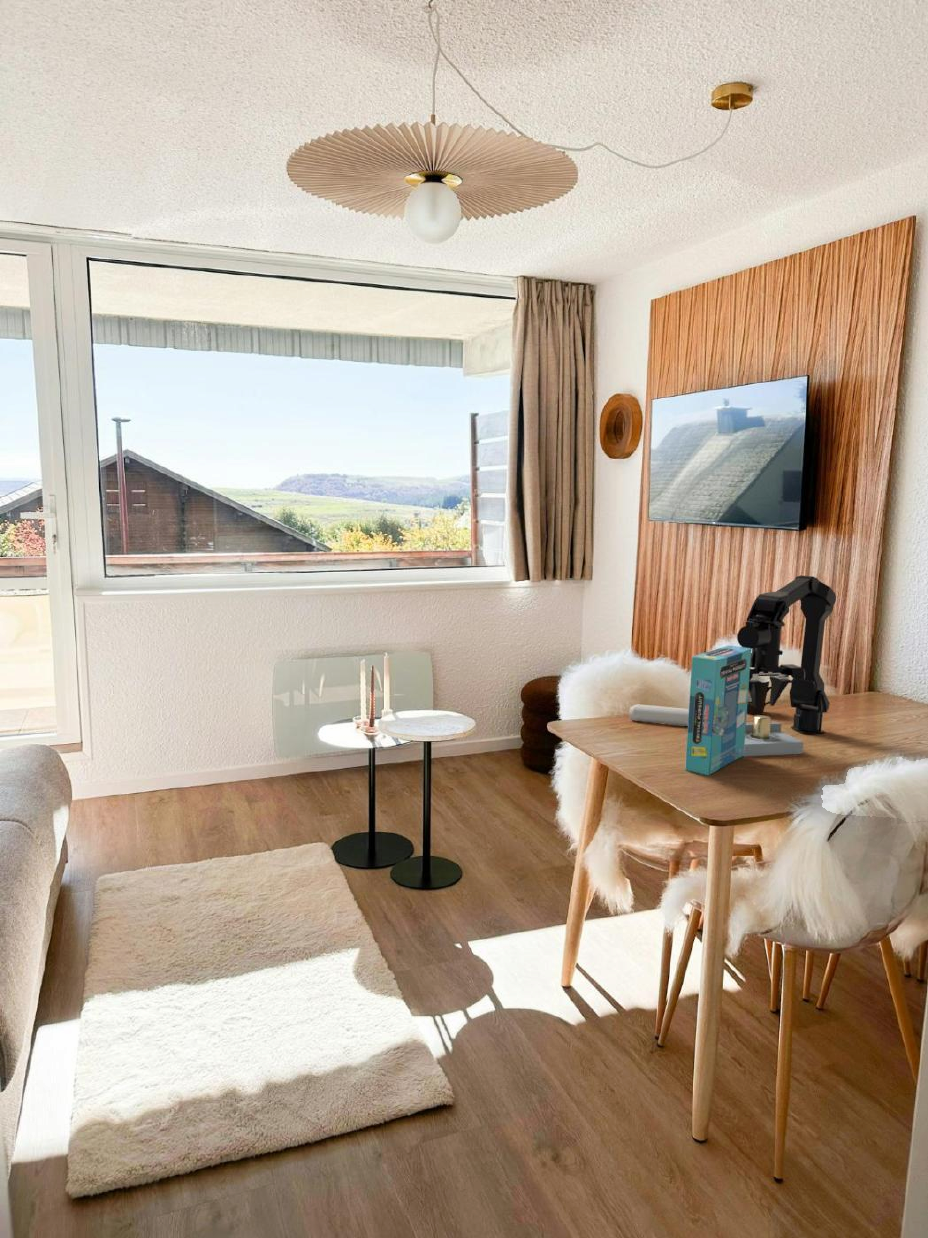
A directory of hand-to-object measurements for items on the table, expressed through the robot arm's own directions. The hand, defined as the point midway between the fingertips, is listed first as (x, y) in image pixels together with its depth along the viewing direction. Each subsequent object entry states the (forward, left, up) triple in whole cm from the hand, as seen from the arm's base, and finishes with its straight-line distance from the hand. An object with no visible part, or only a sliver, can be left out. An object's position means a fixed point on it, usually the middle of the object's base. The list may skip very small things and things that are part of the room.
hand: (763, 705), depth 219 cm
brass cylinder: (0, 0, -11) cm, 11 cm away
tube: (+12, -25, -12) cm, 30 cm away
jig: (0, 0, -11) cm, 11 cm away
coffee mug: (-18, -33, -11) cm, 39 cm away
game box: (+18, +10, -11) cm, 23 cm away
